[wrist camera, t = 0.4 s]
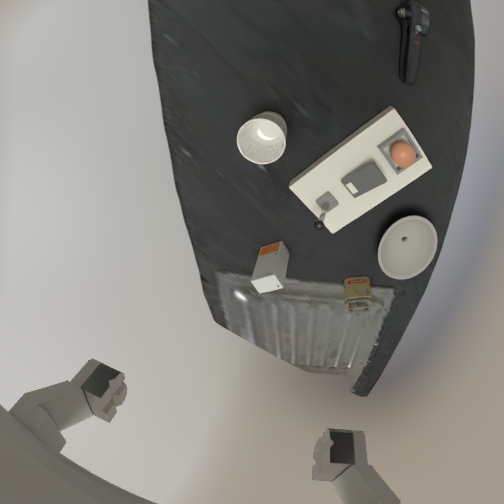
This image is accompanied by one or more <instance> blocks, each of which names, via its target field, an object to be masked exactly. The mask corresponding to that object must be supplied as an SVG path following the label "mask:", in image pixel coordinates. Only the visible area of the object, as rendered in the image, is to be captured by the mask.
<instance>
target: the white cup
mask: <svg viewBox="0 0 504 504" xmlns="http://www.w3.org/2000/svg"><path fill="white" fill-rule="evenodd" d="M286 139H287V125H286V121H285V120H284V119H283V117H282V116H281V115H279V114H277V113H275V112H270V111H265V112H263V113H260V114H258V115H256V116H255V117H253V118H252V119H250V120H249V121H248V122H246V123H245V124H244V125H243V126H242V127H241V128H240V130H239V132H238V135H237V145H238V148H239V150H240V152H241V154H242V155H243V156H244V157H245V158H246V159H248V160H249V161H251V162H254V163H257V164H268V163H272V162H274V161H276V160H277V159H278V158H279V157H280V156H281V155H282V154H283V152H284V150H285V146H286Z"/></svg>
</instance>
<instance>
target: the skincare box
mask: <svg viewBox="0 0 504 504" xmlns="http://www.w3.org/2000/svg"><path fill="white" fill-rule="evenodd" d="M288 259H289V252H288V250H287V248H286V246H285V245H284V243H283V241H280V242H277V243H274V244H271V245H267V246H264V247H261V249H260V252H259V256H258V259H257V262H256V266H255V269H254V272H253V276H252V279H251V282H252V284H253V285H254V286H255V288H256V289H257V291H258V292H259V293H264V292H269V291H273V290H276V289H281V288H283V287H284V282H285V276H286V270H287V264H288Z"/></svg>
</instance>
